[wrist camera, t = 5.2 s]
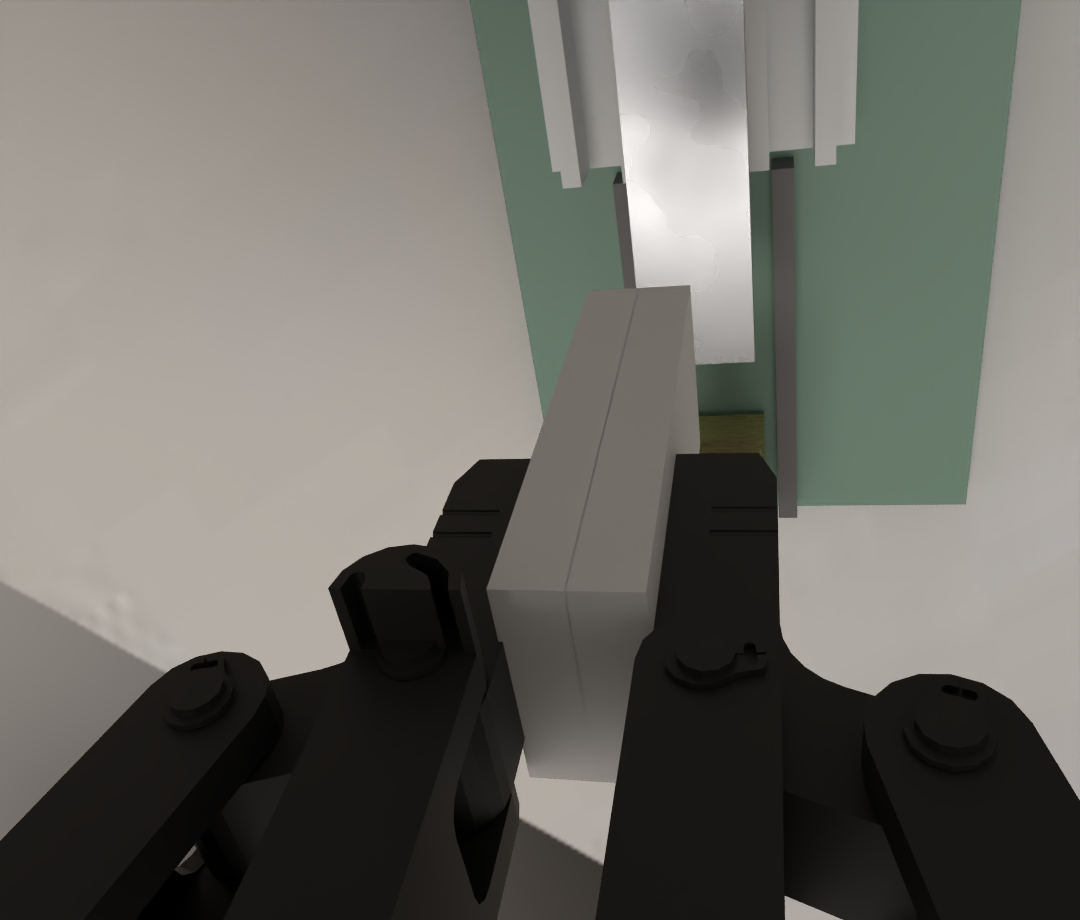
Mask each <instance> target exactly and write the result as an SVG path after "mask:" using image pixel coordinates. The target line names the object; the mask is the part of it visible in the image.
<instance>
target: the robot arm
mask: <svg viewBox="0 0 1080 920" xmlns="http://www.w3.org/2000/svg"><path fill="white" fill-rule="evenodd" d="M699 450H700V431H699V415H698V399H697V383H696V368H695V352H694V336H693V320H692V305H691V289H690V285H682V286H664V287H646V288H628V289H610V290H592V291H588V293H587V296H586V299H585V302H584V305H583V308H582V311H581V313H580V316H579V319H578V322H577V325H576V328H575V331H574V334H573V337H572V340H571V343H570V346H569V349H568V352H567V355H566V357H565V360H564V363H563V366H562V369H561V372H560V375H559V378H558V381H557V384H556V387H555V390H554V393H553V396H552V399H551V401H550V404H549V407H548V410H547V413H546V416H545V419H544V422H543V425H542V428H541V431H540V434H539V437H538V440H537V443H536V445H535V448H534V451H533V454H532V457H531V459H486V460H479V461H478V462H477V463H476V464H474V465H473V466H472V467H471V468H470V469H469V470H468V471H467V472H466V473H465V474H464V475H463V476H461V477H460V478H459V479H458V480H457V481H456V482H455V483H454V485H453V487H452V489H451V492H450V494H449V496H448V498H447V501H446V503H445V505H444V508H443V515H440V517H439V519H438V521H437V524H436V526H435V528H434V530H433V537H430V540H429V542H428V544H427V546H421V545H414V544H413V545H404V546H396V547H388V548H385V549H383V550H380V551H377V552H375V553H372V554H369V555H366V556H364V557H362V558H361V559H359V560H358V561H356V562H355V563H353V564H352V565H350V566H349V567H347V568H346V569H344V570H343V571H342V572H341V573H340V574H339V576H338V577H337V578H336V579H335V580H334V582H333V583H332V584H331V585H330V587H329V588H328V589H329V592H330V595H331V597H332V600H333V603H334V606H335V609H336V612H337V615H338V617H339V620H340V623H341V626H342V629H343V632H344V635H345V637H346V640H347V643H348V646H349V649H350V651H349V653H348V656H347V658H346V660H345V662H343V663H340V664H337V665H334V666H331V667H327V668H324V669H321V670H316V671H312V672H307V673H302V674H298V675H293V676H289V677H284V678H280V679H275V680H271V681H269V678H268V676H267V674H266V672H265V671H264V669H263V667H262V665H261V663H260V662H259V661H258V660H256V659H254V658H252V657H250V656H248V655H246V654H244V653H237V652H223V651H221V652H216V653H212V654H207V655H203V656H198V657H195V658H193V659H191V660H189V661H187V662H185V663H183V664H181V665H178V666H176V667H174V668H172V669H171V670H170V671H168V672H167V673H166V674H165V675H163V676H162V677H161V678H160V679H158V680H157V681H156V682H155V683H153V684H152V685H151V686H150V687H149V688H148V689H147V690H146V691H145V692H144V693H143V694H142V695H141V696H140V697H139V698H138V699H137V700H136V701H135V703H133V704H132V706H130V708H129V709H128V710H127V711H126V712H125V713H124V714H123V715H122V716H121V717H120V718H119V719H118V720H117V721H116V722H115V723H114V724H113V725H112V726H111V727H110V728H109V729H108V730H107V731H106V732H105V733H104V734H103V735H102V737H100V738H99V740H98V741H97V742H96V743H95V744H94V745H93V746H92V747H91V748H90V749H89V750H88V751H87V752H86V753H85V754H84V755H83V756H82V757H81V758H80V759H79V760H78V761H77V762H76V763H75V764H74V765H73V766H72V767H71V768H70V770H69V771H68V772H67V773H66V774H65V775H64V776H63V777H62V778H61V779H60V780H59V781H58V782H57V783H56V784H55V785H54V786H53V787H52V788H51V789H50V790H49V791H48V792H47V793H46V794H45V795H44V796H43V797H42V798H41V799H40V800H39V802H38V803H37V804H36V805H35V806H34V807H33V808H32V809H31V810H30V811H29V812H28V813H27V814H26V815H25V816H24V817H23V818H22V819H21V820H20V821H19V822H18V823H17V824H16V825H15V826H14V827H13V828H12V829H11V830H10V831H9V832H8V833H7V835H6V836H5V837H4V838H3V839H2V840H1V841H0V920H497V916H498V912H499V908H500V904H501V899H502V895H503V891H504V886H505V882H506V878H507V873H508V869H509V865H510V860H511V856H512V851H513V847H514V843H515V838H516V834H517V830H518V825H519V801H518V797H517V793H516V789H515V785H514V780H515V776H516V772H517V768H518V764H519V760H520V756H521V752H522V748H523V750H524V754H525V758H526V763H527V767H528V771H529V776H530V777H535V778H550V779H566V780H581V781H596V782H612V783H616V786H615V793H614V799H613V806H612V813H611V819H610V826H609V833H608V839H607V846H606V853H605V859H604V866H603V873H602V879H601V887H600V893H599V900H598V906H597V913H596V920H785V896H787V897H790V898H792V899H794V900H797V901H799V902H802V903H804V904H807V905H809V906H811V907H814V908H816V909H819V910H821V911H823V912H826V913H828V914H831V915H833V916H836V917H838V918H840V919H843V920H1080V800H1079V799H1078V797H1077V795H1076V794H1075V792H1074V790H1073V789H1072V787H1071V785H1070V784H1069V782H1068V781H1067V779H1066V777H1065V776H1064V774H1063V772H1062V771H1061V769H1060V767H1059V766H1058V764H1057V763H1056V761H1055V759H1054V758H1053V756H1052V754H1051V753H1050V751H1049V749H1048V748H1047V746H1046V745H1045V743H1044V741H1043V740H1042V738H1041V736H1040V735H1039V733H1038V731H1037V730H1036V728H1035V727H1034V725H1033V723H1032V722H1031V721H1030V720H1029V719H1028V718H1027V716H1026V715H1025V714H1024V713H1023V712H1022V711H1021V710H1020V709H1019V708H1018V707H1017V705H1016V704H1015V703H1014V702H1013V701H1012V700H1011V699H1009V698H1007V697H1006V696H1004V695H1002V694H1001V693H999V692H997V691H995V690H994V689H992V688H990V687H989V686H987V685H985V684H984V683H980V682H977V681H973V680H970V679H966V678H962V677H959V676H955V675H951V674H918V675H914V676H911V677H908V678H904V679H901V680H898V681H895V682H892V683H890V684H889V685H888V686H887V687H885V688H884V689H883V690H882V691H881V692H879V693H878V694H877V695H876V696H873V695H870V694H866V693H863V692H860V691H856V690H853V689H850V688H846V687H843V686H841V685H838V684H836V683H833V682H831V681H828V680H825V679H823V678H821V677H820V676H818V675H817V674H815V673H814V672H812V671H810V670H809V669H807V668H806V667H804V666H803V665H802V664H801V663H800V662H799V661H798V660H797V659H796V658H795V657H794V656H793V655H792V654H791V652H790V650H789V649H788V647H787V645H786V643H785V642H784V640H783V637H782V632H781V627H780V610H779V558H778V506H777V477H776V476H775V474H774V473H773V471H772V470H771V469H770V467H769V466H768V465H767V463H766V462H765V461H764V459H763V458H762V456H761V455H760V454H759V453H707V454H699ZM194 845H195V847H196V850H195V852H194V853H193V854H192V855H191V856H190V857H189V858H188V859H187V860H186V861H184V862H183V863H182V864H181V865H180V866H178V865H179V863H180V862H181V861H182V860H183V858H184V857H185V856H186V855H187V853H188V852H189V851H190V850H191V848H192V847H193V846H194Z"/></svg>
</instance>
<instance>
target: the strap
mask: <svg viewBox="0 0 1080 920" xmlns="http://www.w3.org/2000/svg"><path fill="white" fill-rule="evenodd" d="M609 10H610V21H611V31H612V41H613V52H614V62H615V72H616V83H617V93H618V103H619V114H620V124H621V134H622V145H623V155H624V165H625V176H626V186H627V197H628V207H629V217H630V228H631V238H632V248H633V259H634V269H635V279H636V288H646V287H664V286H682V285H690V289H691V305H692V320H693V336H694V352H695V365H697V364H720V363H743V362H755V320H754V289H753V258H752V227H751V196H750V166H749V135H748V104H747V73H746V42H745V11H744V0H609Z"/></svg>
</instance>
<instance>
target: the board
mask: <svg viewBox="0 0 1080 920" xmlns="http://www.w3.org/2000/svg"><path fill="white" fill-rule="evenodd" d="M470 4H471V10H472V15H473V21H474V27H475V32H476V38H477V44H478V50H479V55H480V61H481V67H482V72H483V78H484V84H485V89H486V95H487V101H488V106H489V112H490V118H491V124H492V129H493V135H494V141H495V146H496V152H497V158H498V163H499V169H500V175H501V180H502V186H503V192H504V197H505V203H506V209H507V215H508V220H509V226H510V232H511V237H512V243H513V249H514V254H515V260H516V266H517V271H518V277H519V283H520V289H521V294H522V300H523V306H524V311H525V317H526V323H527V328H528V334H529V340H530V345H531V351H532V357H533V363H534V368H535V374H536V380H537V385H538V391H539V397H540V402H541V408H542V414H543V419H545V416H546V413H547V410H548V407H549V404H550V401H551V399H552V396H553V393H554V390H555V387H556V384H557V381H558V378H559V375H560V372H561V369H562V366H563V363H564V360H565V357H566V355H567V352H568V349H569V346H570V343H571V340H572V337H573V334H574V331H575V328H576V325H577V322H578V319H579V316H580V313H581V311H582V308H583V305H584V302H585V299H586V296H587V293H588V291H592V290H610V289H628V288H636V279H635V269H634V259H633V248H632V238H631V228H630V217H629V207H628V197H627V186H626V176H625V165H624V155H623V145H622V134H621V124H620V114H619V103H618V93H617V83H616V72H615V62H614V52H613V41H612V31H611V21H610V10H609V0H470ZM1020 8H1021V0H744V11H745V42H746V73H747V104H748V135H749V166H750V196H751V227H752V258H753V289H754V320H755V362H743V363H720V364H697V365H695V368H696V383H697V399H698V415H699V416H704V415H736V414H764V426H765V460H766V463H767V465H768V466H769V467H770V469H771V470H772V471H773V473H774V474H775V476H776V477H777V506H779V518H797V506H821V505H940V504H966V498H967V489H968V480H969V470H970V461H971V452H972V443H973V434H974V425H975V416H976V407H977V398H978V389H979V380H980V371H981V362H982V353H983V344H984V334H985V325H986V316H987V307H988V298H989V289H990V280H991V271H992V262H993V253H994V244H995V235H996V226H997V217H998V207H999V198H1000V189H1001V180H1002V171H1003V162H1004V153H1005V144H1006V135H1007V126H1008V117H1009V108H1010V99H1011V90H1012V81H1013V71H1014V62H1015V53H1016V44H1017V35H1018V26H1019V17H1020Z"/></svg>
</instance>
